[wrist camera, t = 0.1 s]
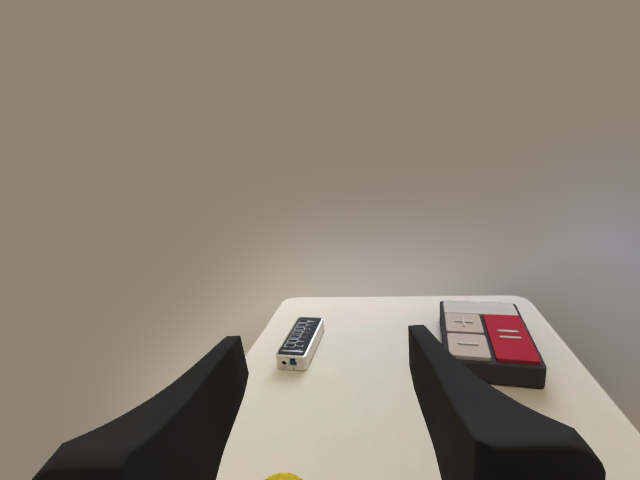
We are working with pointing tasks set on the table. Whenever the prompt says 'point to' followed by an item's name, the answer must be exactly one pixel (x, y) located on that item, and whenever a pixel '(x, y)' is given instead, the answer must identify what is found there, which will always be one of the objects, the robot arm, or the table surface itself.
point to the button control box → (492, 342)
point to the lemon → (283, 477)
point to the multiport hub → (300, 344)
